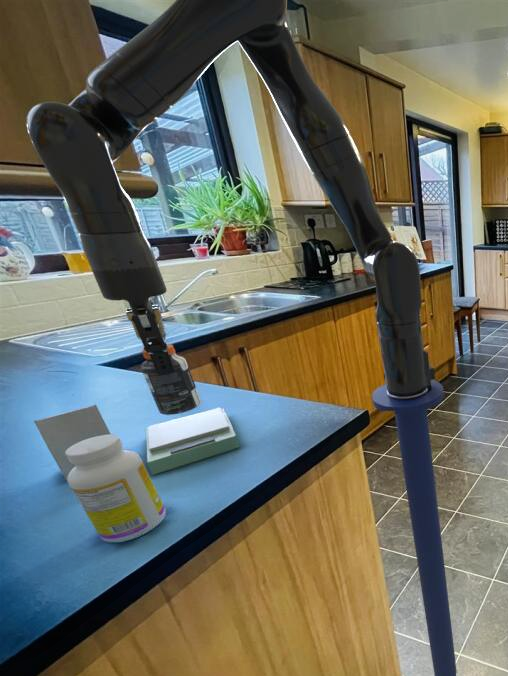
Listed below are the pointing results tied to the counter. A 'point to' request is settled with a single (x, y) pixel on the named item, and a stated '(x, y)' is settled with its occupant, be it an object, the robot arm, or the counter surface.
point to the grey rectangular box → (70, 432)
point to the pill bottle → (171, 385)
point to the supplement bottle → (114, 488)
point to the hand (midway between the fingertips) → (165, 367)
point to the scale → (189, 440)
